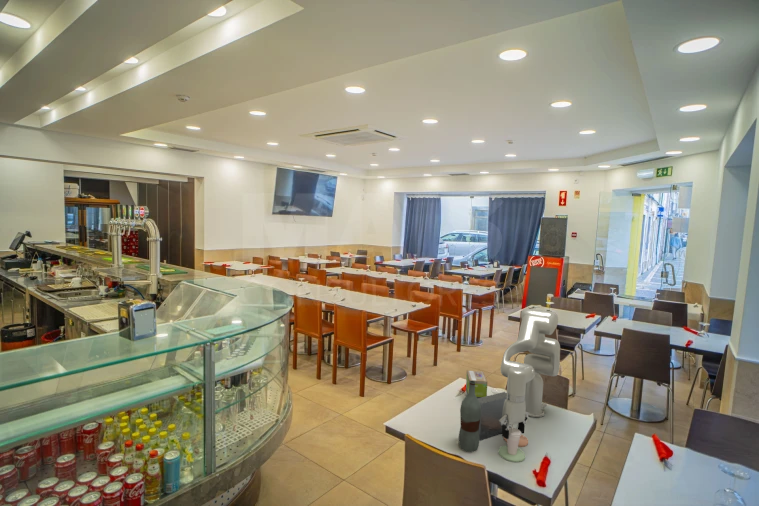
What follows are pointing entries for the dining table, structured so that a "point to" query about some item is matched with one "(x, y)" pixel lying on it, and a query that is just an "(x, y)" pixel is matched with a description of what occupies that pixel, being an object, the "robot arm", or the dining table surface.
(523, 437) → the terracotta coaster
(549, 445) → the dining table surface
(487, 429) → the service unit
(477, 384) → the tea box
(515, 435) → the smoothie
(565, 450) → the dining table surface
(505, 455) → the sage coaster
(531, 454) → the dining table surface
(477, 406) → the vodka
